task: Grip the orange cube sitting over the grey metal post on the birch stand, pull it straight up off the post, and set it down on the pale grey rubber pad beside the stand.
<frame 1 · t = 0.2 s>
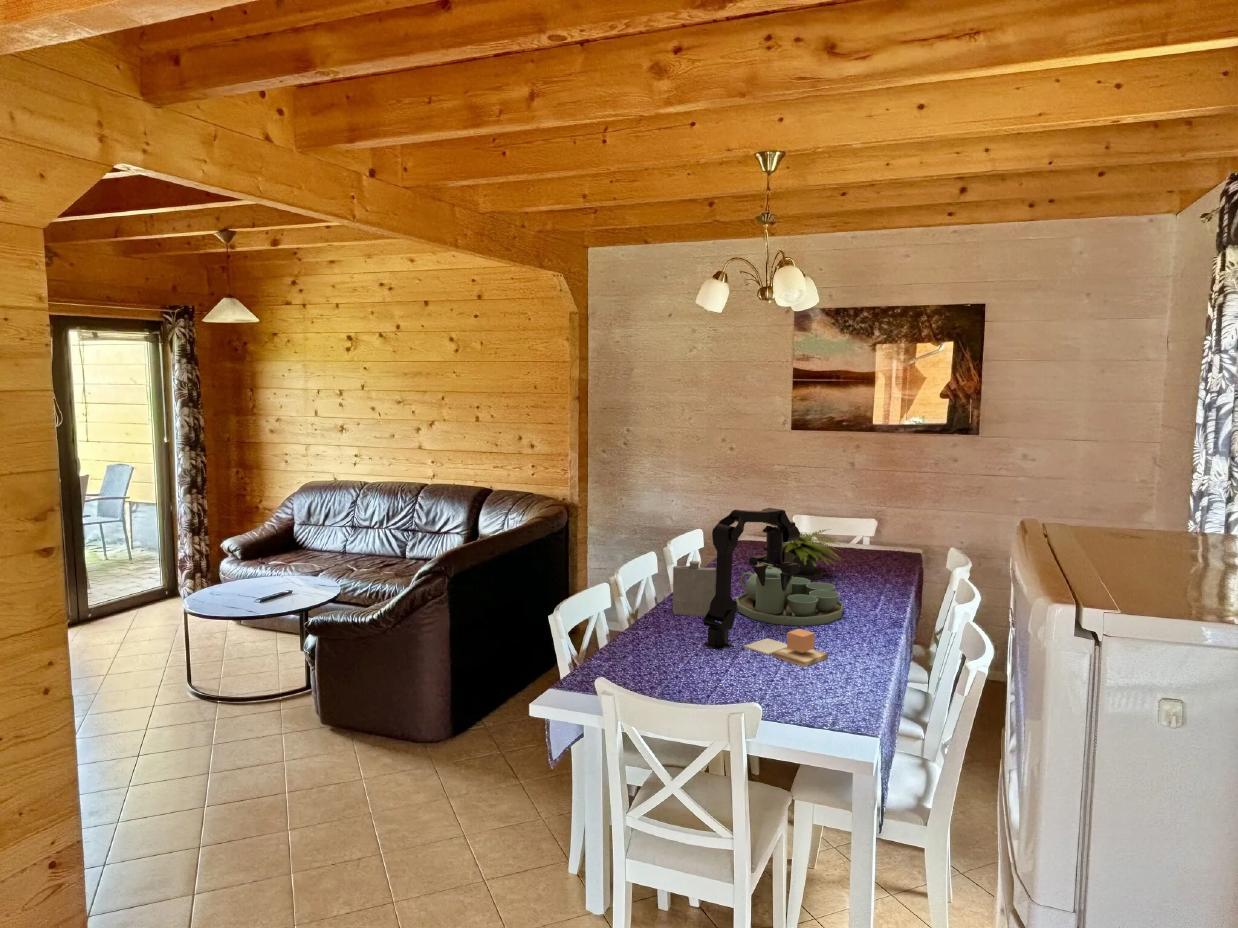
hand: (773, 588, 290), 14 cm above the table, tool pointing down, fingers open, 9 cm apart
pad: (767, 647, 272), on the table
fern plant: (802, 575, 369), on the table
orange cube: (800, 648, 262), point 3 cm above the table, touching post stand
post stand: (800, 657, 262), on the table
hip flask: (693, 614, 309), on the table
tea set: (788, 611, 314), on the table
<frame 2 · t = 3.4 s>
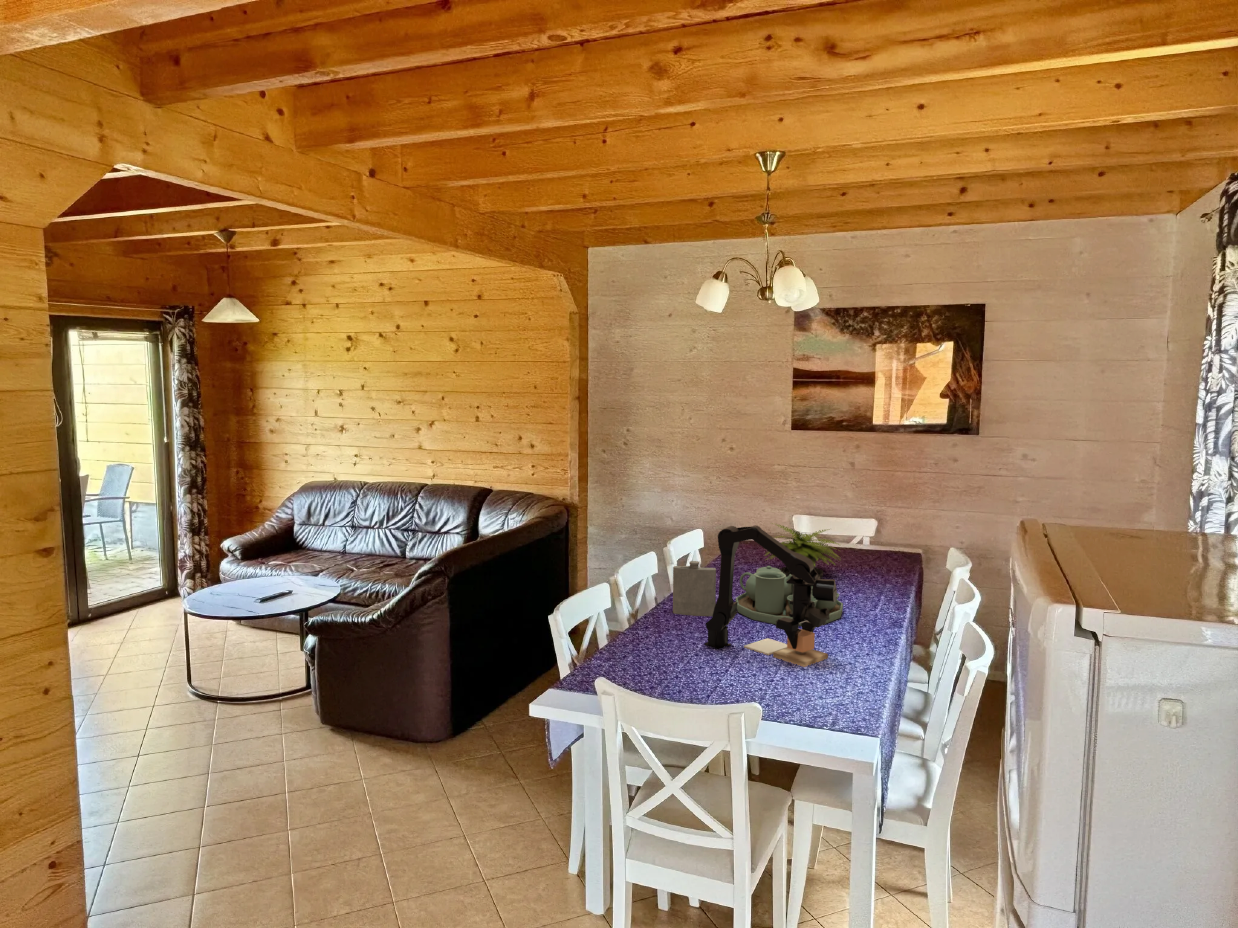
hand: (800, 646, 262), 4 cm above the table, tool pointing down, fingers closed on orange cube, 6 cm apart
orange cube: (800, 648, 262), point 3 cm above the table, touching gripper, post stand
everything else where it was.
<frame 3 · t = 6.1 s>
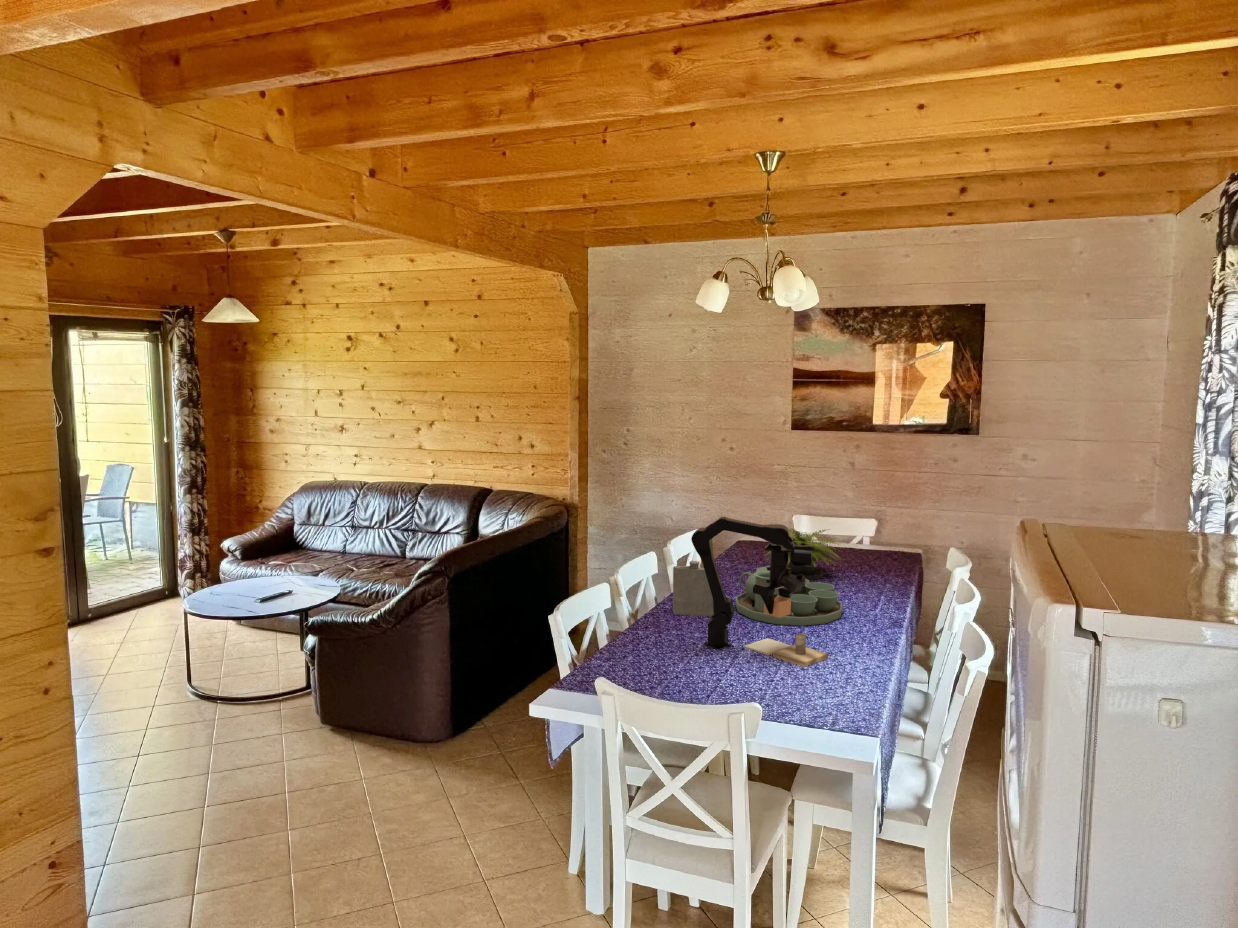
hand: (777, 612, 267), 13 cm above the table, tool pointing down, fingers closed on orange cube, 6 cm apart
orange cube: (777, 613, 268), point 12 cm above the table, touching gripper
everything else where it was.
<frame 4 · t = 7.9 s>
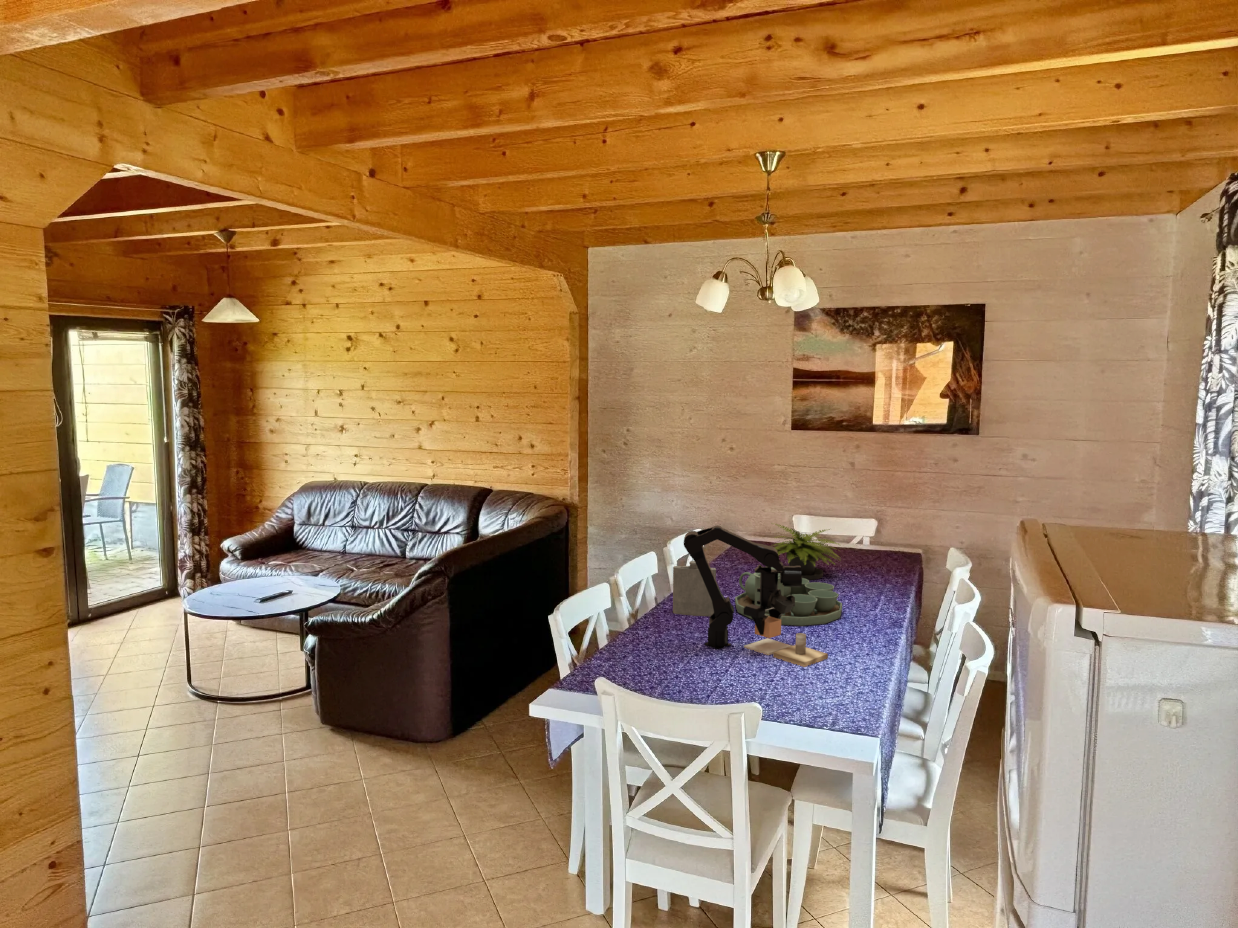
hand: (767, 632, 271), 5 cm above the table, tool pointing down, fingers closed on orange cube, 6 cm apart
orange cube: (767, 634, 271), point 4 cm above the table, touching gripper
everything else where it was.
when the fingers open (3 cm above the table, at t = 9.3 s): orange cube drops 1 cm, resting on pad.
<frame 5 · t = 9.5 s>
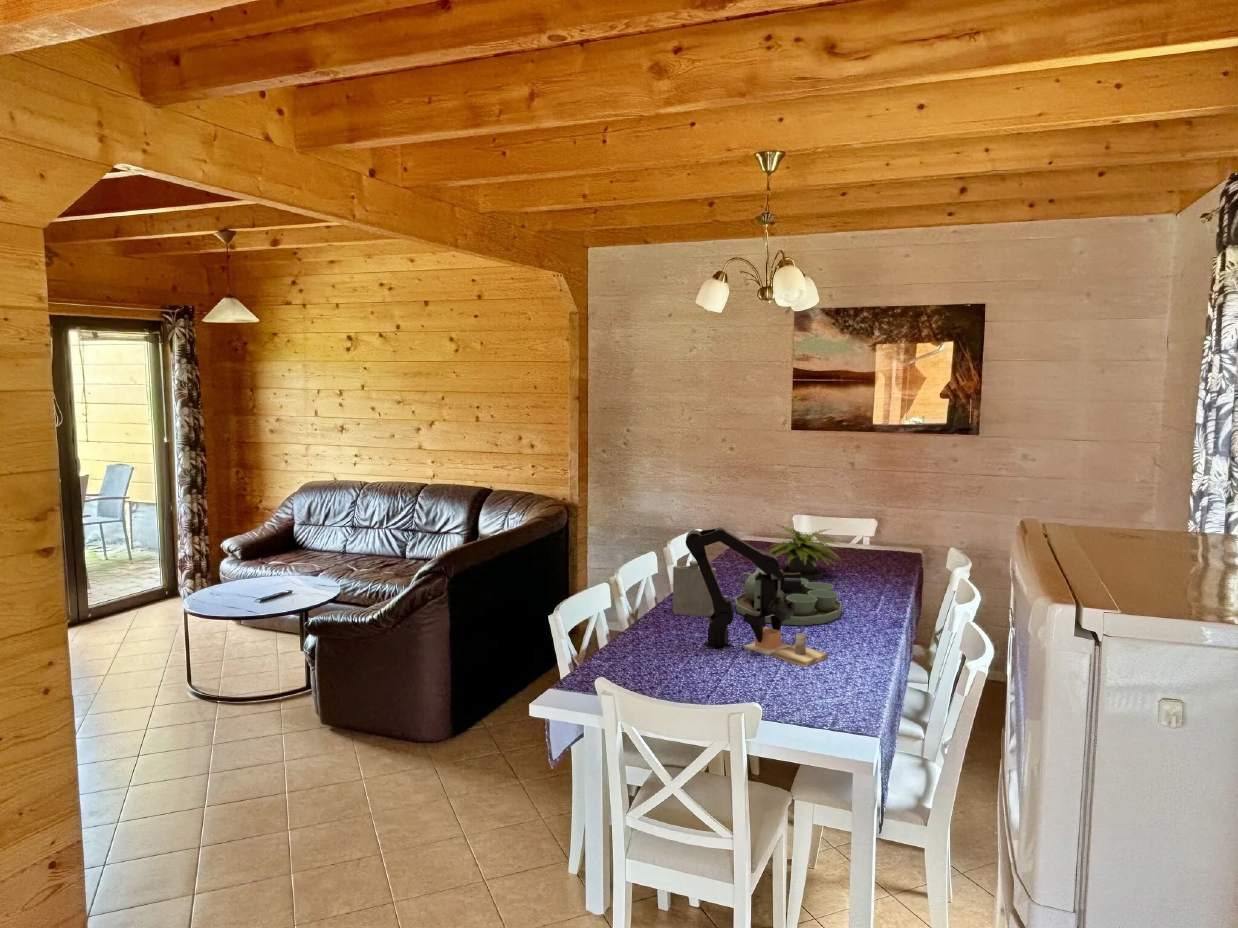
hand: (767, 639, 271), 3 cm above the table, tool pointing down, fingers open, 8 cm apart
orange cube: (767, 645, 272), point 1 cm above the table, touching pad
everything else where it was.
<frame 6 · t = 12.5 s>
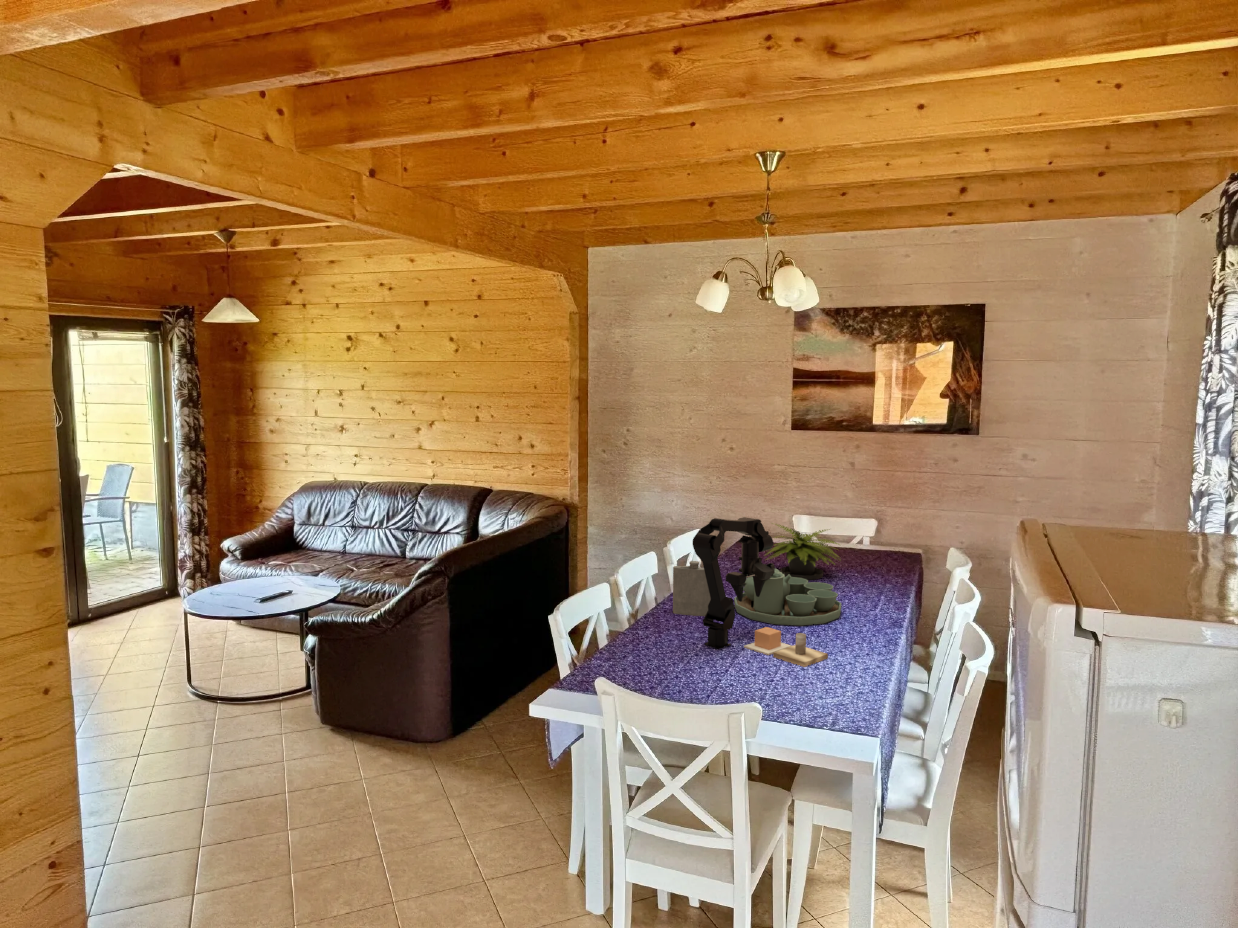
hand: (749, 598, 285), 12 cm above the table, tool pointing down, fingers open, 9 cm apart
nothing on the table moved.
at the end: orange cube inside the target area on the pad (0.1 cm from its centre), point 0.6 cm above the pad's base; orange cube tilted 0°; the gripper is holding nothing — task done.
